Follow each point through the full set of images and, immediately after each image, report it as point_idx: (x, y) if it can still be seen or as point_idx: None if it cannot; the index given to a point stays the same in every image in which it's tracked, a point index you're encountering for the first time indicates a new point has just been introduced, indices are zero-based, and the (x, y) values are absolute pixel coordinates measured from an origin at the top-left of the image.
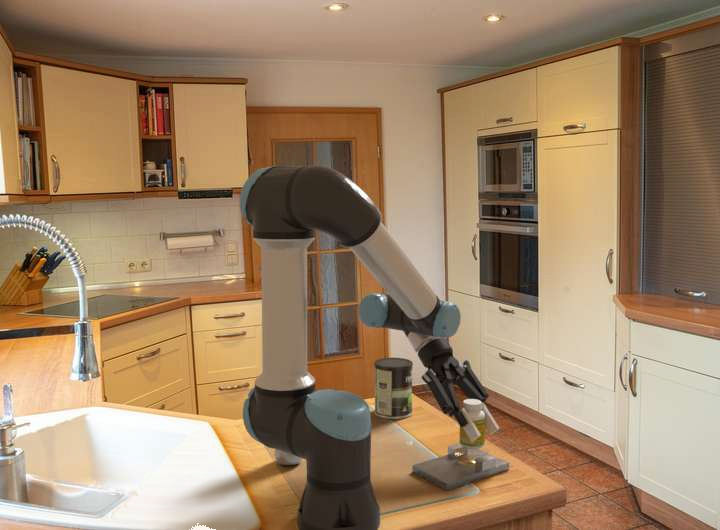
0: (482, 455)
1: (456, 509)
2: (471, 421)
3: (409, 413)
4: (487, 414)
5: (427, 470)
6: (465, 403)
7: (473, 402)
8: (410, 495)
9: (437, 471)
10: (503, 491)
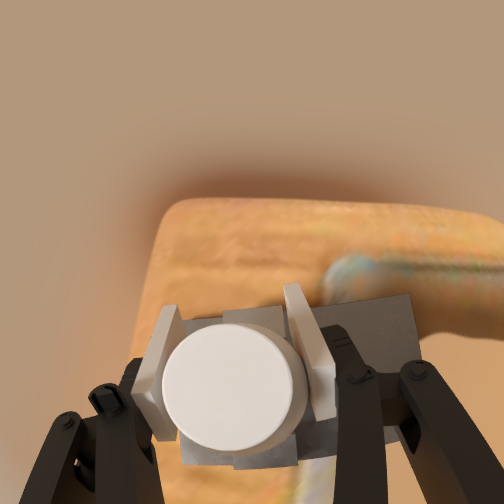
0: None
1: (418, 222)
2: (302, 317)
3: None
4: (165, 350)
5: None
6: (293, 385)
7: (230, 370)
8: (476, 313)
9: (395, 368)
10: (282, 238)
